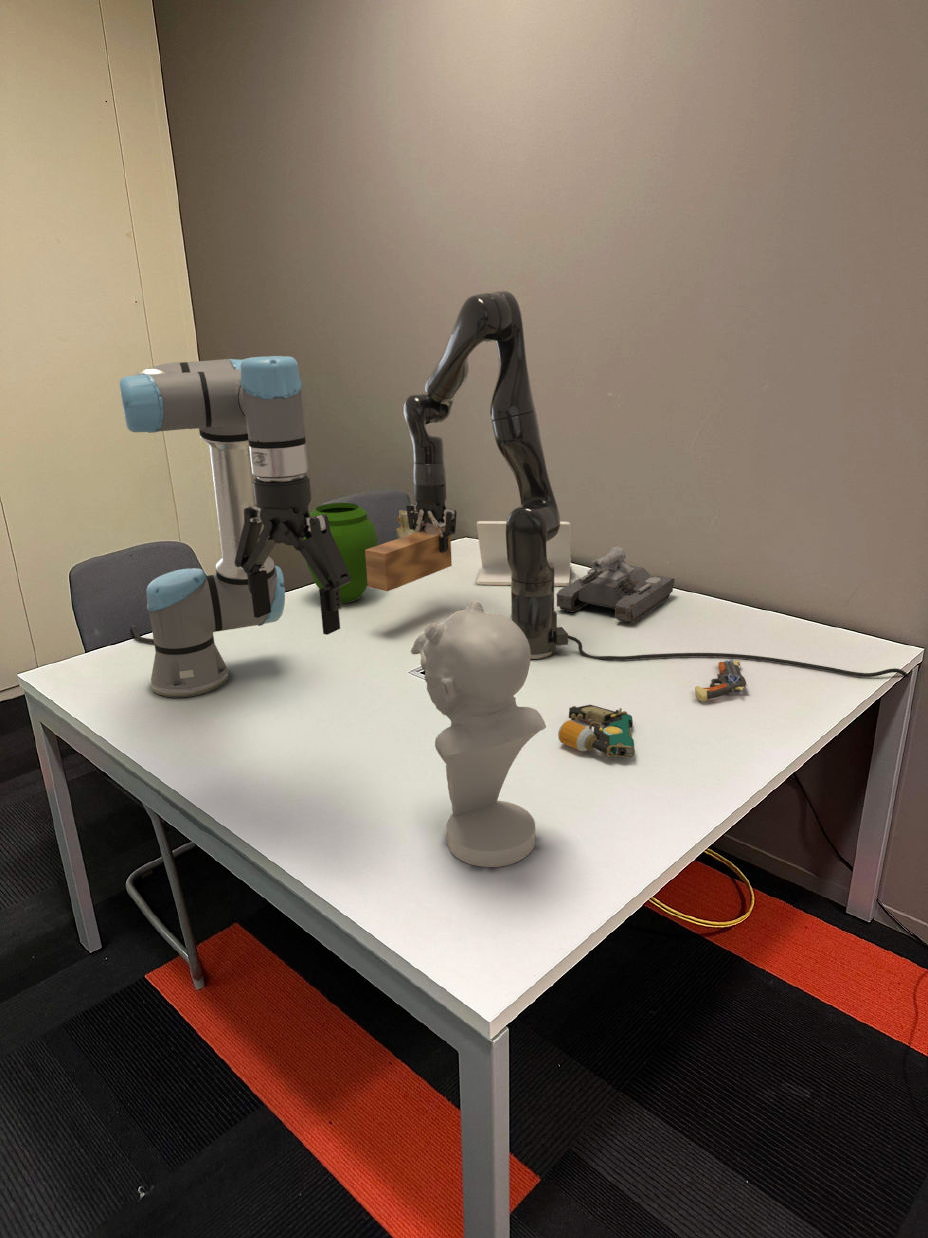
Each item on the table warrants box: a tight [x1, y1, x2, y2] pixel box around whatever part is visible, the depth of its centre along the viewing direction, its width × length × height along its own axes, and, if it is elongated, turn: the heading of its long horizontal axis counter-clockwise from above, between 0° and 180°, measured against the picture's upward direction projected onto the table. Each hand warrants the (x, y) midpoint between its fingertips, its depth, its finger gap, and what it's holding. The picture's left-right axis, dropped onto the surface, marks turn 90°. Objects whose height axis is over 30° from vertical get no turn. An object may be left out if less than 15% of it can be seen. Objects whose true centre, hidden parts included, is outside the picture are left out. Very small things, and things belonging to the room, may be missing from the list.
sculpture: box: [396, 509, 416, 539], centre depth 253 cm, size 6×7×15 cm
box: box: [365, 527, 453, 593], centre depth 200 cm, size 23×6×9 cm, turn 142°
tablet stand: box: [476, 520, 572, 587], centre depth 236 cm, size 18×25×17 cm
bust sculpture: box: [410, 599, 547, 868], centre depth 121 cm, size 16×24×35 cm
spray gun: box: [557, 704, 636, 759], centre depth 150 cm, size 4×17×15 cm
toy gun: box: [694, 659, 749, 702], centre depth 169 cm, size 3×19×10 cm
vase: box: [303, 502, 379, 604], centre depth 220 cm, size 20×20×24 cm
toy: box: [556, 546, 676, 624], centre depth 212 cm, size 25×20×15 cm
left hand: (296, 623), depth 123 cm, fingers open, 13 cm apart
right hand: (432, 549), depth 206 cm, fingers closed on box, 6 cm apart
